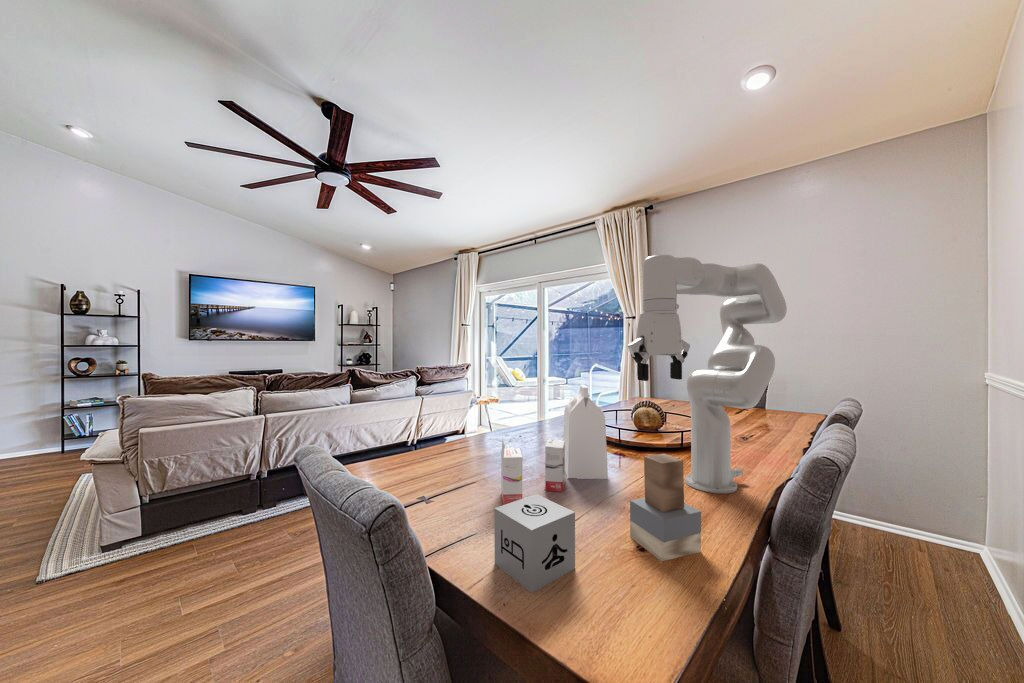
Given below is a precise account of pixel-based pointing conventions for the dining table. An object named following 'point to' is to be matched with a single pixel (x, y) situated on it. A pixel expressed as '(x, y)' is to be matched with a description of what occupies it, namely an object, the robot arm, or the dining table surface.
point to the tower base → (665, 544)
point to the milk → (585, 438)
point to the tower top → (665, 520)
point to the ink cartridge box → (511, 474)
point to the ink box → (554, 465)
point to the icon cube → (534, 541)
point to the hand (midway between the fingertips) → (659, 379)
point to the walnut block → (664, 482)
